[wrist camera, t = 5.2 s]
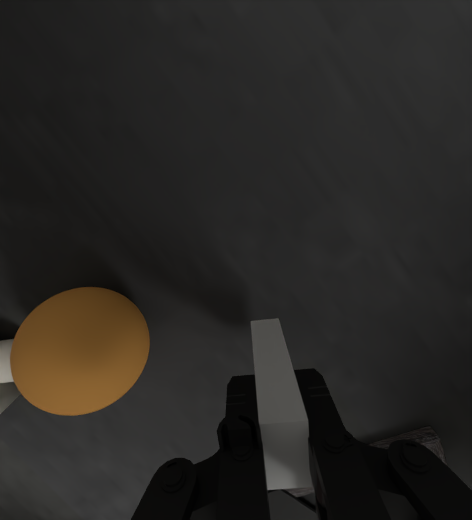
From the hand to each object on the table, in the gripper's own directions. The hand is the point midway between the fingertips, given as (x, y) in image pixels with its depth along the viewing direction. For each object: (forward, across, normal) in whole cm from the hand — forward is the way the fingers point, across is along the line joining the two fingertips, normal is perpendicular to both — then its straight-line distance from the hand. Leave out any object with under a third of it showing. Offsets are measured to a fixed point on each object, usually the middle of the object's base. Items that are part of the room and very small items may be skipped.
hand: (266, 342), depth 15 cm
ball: (-1, +9, -1) cm, 9 cm away
